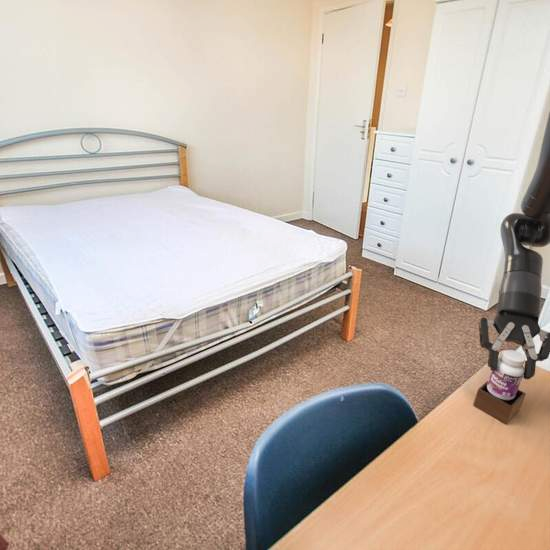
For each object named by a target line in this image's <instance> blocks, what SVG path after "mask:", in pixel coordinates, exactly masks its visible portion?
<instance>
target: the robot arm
mask: <svg viewBox="0 0 550 550" xmlns="http://www.w3.org/2000/svg"><path fill="white" fill-rule="evenodd" d="M520 210H521V212H522V213H521V212H513V213H512V212H511V213H509V214H507V215H506V216H505V217H504V218H503V219H502V222H501V224H500V238H501V243H502V246H503V252H504V267H503V273H502V279H501V282H500V286H499V290H498V300H497V308H496V314H495V317H494V319H492V318H491V319H490V318H489V319H487V318H486V317H481V318H480V319H479V321H478V334H479V345H480V347H481V348H482V349H485V350H487V351H488V359H487V367H488V368H490V371H491V372H492V371H496V369H497V364H498V358H499V355H500V351H499V349H500V348H501V347H502V345H503V343H504V342H506V343H514V344H516V345H519V346H521V349H522V351H523V353H524V355H525V361H524V366H523V367H524V369H525V372H524V375H523V378H522V379H523V380H527V381H529V380H530V379H531V378H533V377H535V375H536V365H537V362H544V361H545V360H547V359H549V357H550V331H546V330H544V329H541V326H540V324H539V319H540V310H541V299H542V288H543V287H542V276H543V275H542V274H543V266H544V265H543V264H544V258H543V256H542V254H540V253H539V252H538V251H535V250H533V249H531V248H528V247H532V248H544V247H547V246H548V245H550V110H549V111H548V115H547V120H546V124H545V129H544V132H543V136H542V142H541V145H540V151H539V156H538V159H537V163H536V167H535V170H534V173H533V175H532V178H531V180H530V182H529V185H528V187H527V188H526V191H525V193H524V196H523V197H522V200H521V203H520ZM492 326H493V327H494V329H495V330H496V333H498V335H497V337H496V338H495V339H494V341H493V343H492V342H490V334H489V330H490V329H491V328H492ZM537 335H538V336H539V340H540V341H541V345H540V348H539V351H538V353H537V351H536V349H535V348H536V345H535V342H534V340H533V339H534V338H535V337H536V336H537Z"/></svg>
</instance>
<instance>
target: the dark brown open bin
mask: <svg viewBox="0 0 550 550" xmlns="http://www.w3.org/2000/svg"><path fill="white" fill-rule="evenodd" d="M488 381H489V379H488V380H487V381H485V382H484V383H483V384H482V385H481V386H480V387H479V388H478V389H477V391H476V395H475V397H474V401H473V405H472V406H473V407H475V408H476V409H479V410H480V411H482V412H483V413H485V414H487V415H488V416H490V417H492V418H494V419H496V420H497V421H498V422H500V423H503V424H504V425H507V424H508V423H509V422H510V421H511V420H512V419H513V418H514V417H515V416H516V415H517V414H518V412H519V411H520V410H521V408H522V406H523V402H524V400H525V397H526V394H527V393H526V392H524V391H522V390H520V389H518V390H517V393H516V395H515V397H514V398H513V399H511V400H502V399H499V398H497V397H495V396H493V395H492V394H491V393H490V392H489V391H488V389H487V384H488Z"/></svg>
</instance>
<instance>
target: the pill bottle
mask: <svg viewBox="0 0 550 550" xmlns="http://www.w3.org/2000/svg"><path fill="white" fill-rule="evenodd" d="M525 361H526V356H524V355H523V354H522V353H520V351H516V350H513V349H504V350H502V352H501V355H500V357H498V364H497V369H496V371H492V370H491V372H490V375H489V378H488V380H489V381H488V380H487V381H488V384H487V389H488V391H489V392H490V393H491V394H492V395H493V396H495V397H497V398H499V399H502V400H511V399H513V398H514V397H515V395H516V393H517V390H519V388H520V385H521V383H522V380H523V379H524V378H523V376H524V372H525V369H524V367H525V366H524V365H525Z"/></svg>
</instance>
